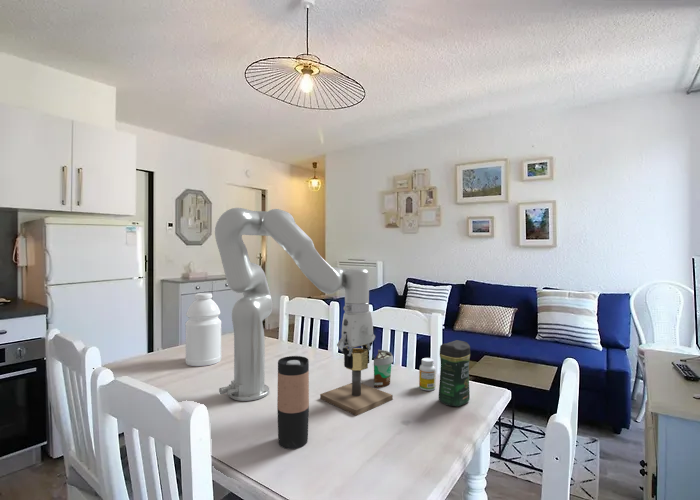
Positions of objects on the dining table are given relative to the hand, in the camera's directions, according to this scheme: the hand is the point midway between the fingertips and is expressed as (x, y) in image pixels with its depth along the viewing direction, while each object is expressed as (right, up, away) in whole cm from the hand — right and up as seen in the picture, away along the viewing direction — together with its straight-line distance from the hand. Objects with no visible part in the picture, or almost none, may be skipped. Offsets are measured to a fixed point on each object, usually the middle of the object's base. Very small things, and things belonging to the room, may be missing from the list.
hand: (356, 364), depth 117 cm
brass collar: (0, -1, 0) cm, 1 cm away
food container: (+10, -11, +14) cm, 21 cm away
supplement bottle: (+24, -11, +10) cm, 28 cm away
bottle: (-63, -10, +37) cm, 74 cm away
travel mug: (-16, -11, -25) cm, 32 cm away
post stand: (0, -11, 0) cm, 11 cm away
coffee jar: (+30, -11, -1) cm, 32 cm away
